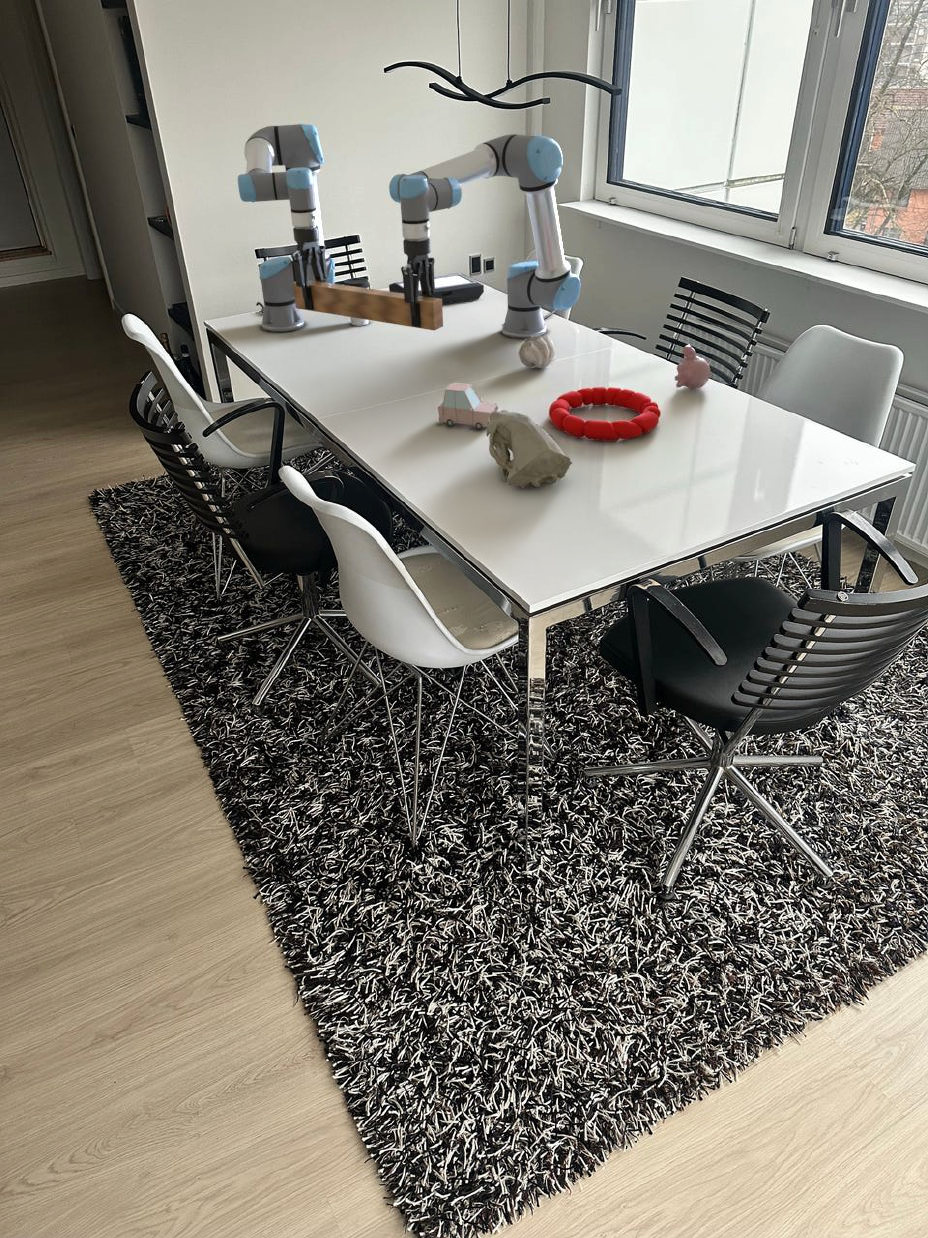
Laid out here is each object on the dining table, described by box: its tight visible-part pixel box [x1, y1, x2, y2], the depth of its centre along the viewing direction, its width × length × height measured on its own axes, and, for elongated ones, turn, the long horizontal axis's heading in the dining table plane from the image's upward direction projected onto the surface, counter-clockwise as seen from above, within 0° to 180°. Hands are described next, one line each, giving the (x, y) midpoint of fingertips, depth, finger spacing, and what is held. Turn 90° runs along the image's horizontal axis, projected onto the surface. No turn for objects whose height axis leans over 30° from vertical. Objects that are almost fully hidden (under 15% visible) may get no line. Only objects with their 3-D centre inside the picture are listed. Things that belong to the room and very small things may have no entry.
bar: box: [293, 280, 444, 331], centre depth 266 cm, size 52×5×8 cm, turn 58°
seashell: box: [518, 335, 556, 369], centre depth 279 cm, size 10×15×10 cm
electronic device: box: [388, 273, 485, 305], centre depth 349 cm, size 32×6×20 cm
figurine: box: [674, 344, 711, 390], centre depth 259 cm, size 9×11×12 cm
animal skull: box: [485, 409, 573, 489], centre depth 216 cm, size 17×25×20 cm
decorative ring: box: [548, 386, 661, 442], centre depth 242 cm, size 7×30×30 cm
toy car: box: [437, 382, 499, 431], centre depth 243 cm, size 9×15×10 cm, turn 70°
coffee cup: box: [342, 277, 371, 327], centre depth 323 cm, size 10×10×15 cm
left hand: (315, 306), depth 277 cm, fingers closed on bar, 5 cm apart
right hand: (421, 323), depth 259 cm, fingers closed on bar, 5 cm apart
